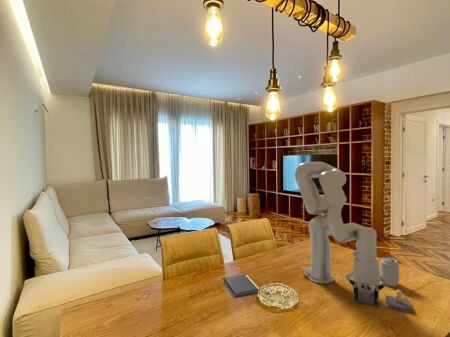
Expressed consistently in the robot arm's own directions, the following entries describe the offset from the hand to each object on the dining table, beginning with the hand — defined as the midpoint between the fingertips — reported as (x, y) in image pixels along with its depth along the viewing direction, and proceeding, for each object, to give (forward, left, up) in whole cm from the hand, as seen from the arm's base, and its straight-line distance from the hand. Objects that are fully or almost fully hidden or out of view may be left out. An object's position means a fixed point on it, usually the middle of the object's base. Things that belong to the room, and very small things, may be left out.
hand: (365, 296), depth 109 cm
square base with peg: (+12, 0, -1) cm, 12 cm away
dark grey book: (-54, -9, -2) cm, 55 cm away
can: (+12, +20, -1) cm, 23 cm away
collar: (0, 0, 0) cm, 0 cm away
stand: (0, 0, -1) cm, 1 cm away
